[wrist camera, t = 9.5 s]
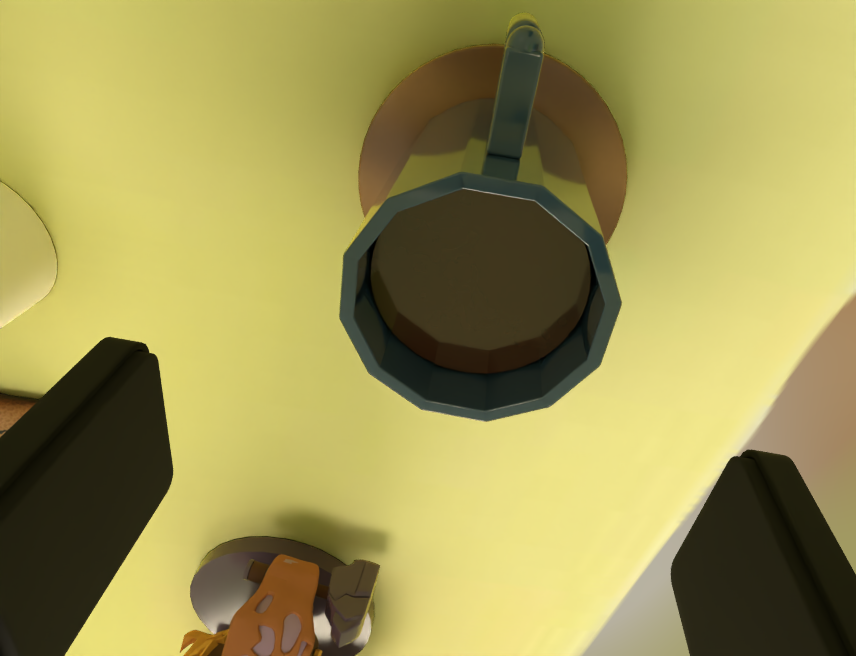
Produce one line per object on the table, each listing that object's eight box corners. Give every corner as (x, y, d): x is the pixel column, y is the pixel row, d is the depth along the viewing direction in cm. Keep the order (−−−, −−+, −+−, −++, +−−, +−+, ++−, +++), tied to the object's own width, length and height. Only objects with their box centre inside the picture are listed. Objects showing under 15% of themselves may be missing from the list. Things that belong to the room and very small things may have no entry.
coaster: (389, 8, 21) (386, 9, 21) (672, 88, 21) (676, 91, 21) (342, 265, 27) (338, 271, 26) (567, 328, 27) (568, 335, 26)
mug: (555, 287, 25) (575, 439, 17) (391, 257, 25) (333, 394, 17) (629, 23, 20) (707, 64, 12) (421, -11, 20) (359, 7, 12)
